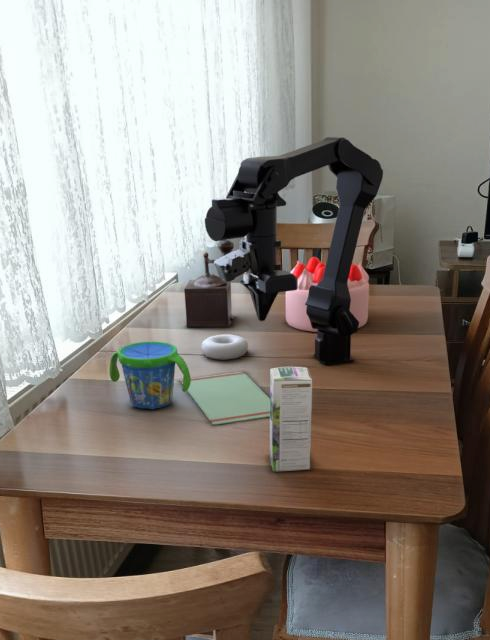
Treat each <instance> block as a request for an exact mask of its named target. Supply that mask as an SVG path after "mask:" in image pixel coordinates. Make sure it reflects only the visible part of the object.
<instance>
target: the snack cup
mask: <svg viewBox="0 0 490 640" xmlns="http://www.w3.org/2000/svg"><path fill="white" fill-rule="evenodd" d="M118 362H119V364H120V365H121V368H122V373H123V376H124V381H125V385H126V390H127V393H128V396H129V400H130V403H131V404H132V407H134V408H139V409H149V410H155V409H161V408H165V407H166V406H169V405H170V404H171V402H172V401H173V394H174V384H175V372H176V365H177V367H178V369H179V371H180V372H181V374H182V376H183V384H182V389H181V391H182V392H183V393H186V392H188V391H187V390H188V389H189V387H190V383H191V378H192V377H191V374H190V369H189V367H188V364H187V362H186V361H185V359H184V358H183V357H182V355H180V354H179V353H178V347H177V346H176V345H174V344H172V343H169V342H164V341H151V340H149V341H138V342H133V343H129V344H127V345H124V346H122V347H120V348H119V349H118V350H117V351H115V352H114V353H113V354H112V356H111V357H110V361H109V378H110V380H111V382H114V383H116V382H118V381H119V380H120V377H121V376H120V375H121V374H120V371H119V368H118Z"/></svg>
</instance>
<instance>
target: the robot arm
mask: <svg viewBox="0 0 490 640" xmlns="http://www.w3.org/2000/svg"><path fill="white" fill-rule="evenodd" d="M327 166H328V169H329V171H330V172H331V173H332V174H333V176H335V177H336V186H335V189H336V193H337V198H338V201H339V207H338V211H337V215H336V220H335V223H334V224H335V225H334V228H333V233H332V237H331V240H330V246H329V250H328V254H327V258H326V263H325V265H326V267H325V271H324V275H323V278H322V280H321V281H320V282H319V283H318V284H317V286H315V285H311V286H310V288H309V294H308V299H307V301H306V303H305V305H307V309H306V314H307V315H308V317H309V319H310V322H311V326H312V328H313V329H318V330H317V332H316V335H317V336H316V337H315V338H314V354H313V358H315V359H316V360H317V361H319V362H320V363H322V364H323V365H325V366H331V365H337V364H345V363H352V362H354V360H355V358H353V357H352V356H351V347H352V346H351V345H352V336H353V334H355V333H357V332H358V330H359V328H358V326H359V321H358V320H357V319H356V318H355V317H354V315H353V314H352V313H351V312H350V303H351V297H350V293H349V289H348V285H347V282H348V278H349V273H350V269H351V265H352V263H353V260H354V256H355V252H356V249H357V243H358V240H359V236H360V231H361V227H362V223H363V219H364V215H365V211H366V209H367V208H368V207H369V206H370V204H371V203H372V202H373V201H374V199H375V198H376V197H377V195H378V193H379V190H380V186H381V185H382V182H383V178H384V177H383V176H384V169H383V168H382V165H381V163H380V162H379V161H378V160H377V159H376V158H373V157H371V155H369V154H368V153H366V152H365V151H364V150H362V149H360V148H358V147H356V146H355V145H353V143H352V142H351V141H350V140H349V139H347V138H346V137H341V136H340V137H338V136H326V137H325V138H323V139H322V140H320V141H317V142H313V143H311V144H308V145H306V146H302V147H299V148H297V149H294V150H291V151H289V152H286V153H283V154H280V155H267V156H254V157H246V158H245V159H243V160H242V161H241V162H240V166H239V168H238V172H237V174H236V176H235V178H234V180H233V182H232V184H231V186H230V188H229V190H228V192H227V194H226V196H225V198H212V199H211V206H210V207H209V208H208V209H207V212H206V215H205V218H204V227H205V231H206V234H207V235H208V237H209V238H210V239H211V241H214V242H220V241H222V240H235V239H240V238H241V239H240V241H239V245H238V246H239V248H237V249H236V250H232V251H231V253H229V254H227V255H225V256H223V257H221V256H220V257H221V258H220V257H218V258H216V259H214V260H215V261H214V263H213V265H214V267H215V269H216V272H217V276H219V277H220V279H224V280H225V281H226V282H229V281H231V282H232V281H234V280H235V279H236V278H238V277H240V276H243V278H242V279H243V280H239V283H240V284H241V285H242V286H243V287H244V288H245V289H247V290H248V292H249V294H250V298H251V301H252V304H253V307H254V311H255V314H256V318H257V320H258V321H259V322H265V321H266V319H267V317H268V315H269V313H270V311H271V308H272V306H273V305H274V302H275V300H276V299H277V297H278V294H279V293H284V292H285V293H286V291H294V290H297V289H298V279H297V277H296V276H295V275H294V274H292V273H290V272H291V271H287V270H285V269H284V270H281V269H282V265H281V264H282V263H278V260H277V259H278V258H277V257H278V255H277V253H278V248H281V247H282V241H281V240H279V239H278V238H277V237H278V236H277V235H278V234H277V233H278V232H277V231H278V230H277V229H278V228H277V227H278V226H277V225H278V224H277V223H278V222H277V217H278V215H277V211H278V209H277V208H278V207H279V208H280V207H285V206H286V205H287V201H286V200H285V199H284V198H283V197H282V196H280V194H279V192H280V191H282V190H284V189H286V188H287V187H288V185H290V182H291V181H292V180H294V179H296V178H297V177H300V176H303V175H305V174H308V173H311V172H314V171H317V170H319V169H321V168H324V167H327Z"/></svg>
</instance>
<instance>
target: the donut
mask: <svg viewBox="0 0 490 640" xmlns="http://www.w3.org/2000/svg"><path fill="white" fill-rule="evenodd" d="M248 349H249V343H248V341H247V340H246V339H245V338H244V337H243V336H241V335H237V334H230V333H228V334H226V333H224V334H222V333H221V334H216V335H215V334H214V335H212V336H209V337H207V338H206V339H204V340H203V342H202V344H201V352H202V353H203V354H204V355H205V356H206V357H207V358H210V359H213V360H221V361H223V360H233V359H237V358H240V357H243V356H244V355H245V354H246V353H247V352H248Z"/></svg>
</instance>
